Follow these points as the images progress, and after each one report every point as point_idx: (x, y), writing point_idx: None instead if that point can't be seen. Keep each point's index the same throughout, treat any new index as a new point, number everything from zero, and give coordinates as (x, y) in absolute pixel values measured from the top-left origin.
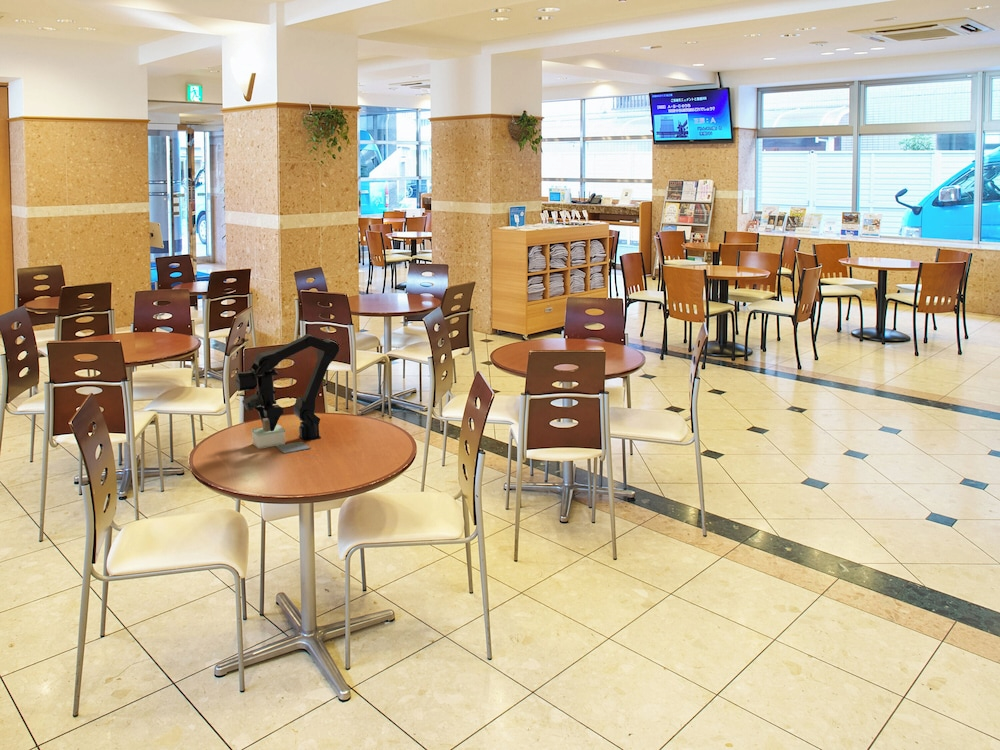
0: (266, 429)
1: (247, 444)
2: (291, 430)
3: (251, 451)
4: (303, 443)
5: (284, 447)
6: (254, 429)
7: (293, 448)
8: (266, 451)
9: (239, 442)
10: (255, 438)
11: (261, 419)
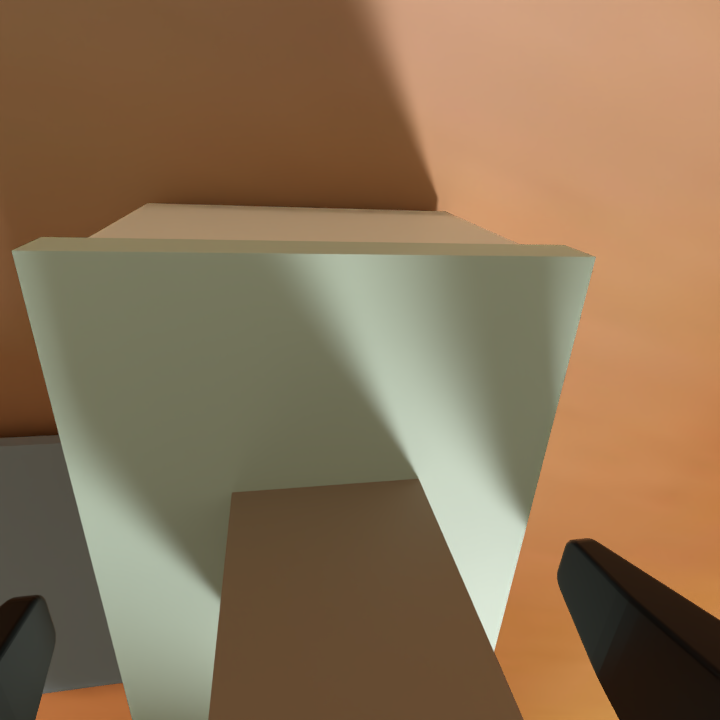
0: (232, 536)
1: (489, 137)
2: (572, 639)
3: (105, 45)
4: (91, 680)
5: (14, 511)
6: (500, 314)
7: None
8: (5, 271)
9: (650, 64)
10: (309, 231)
11: (686, 643)
